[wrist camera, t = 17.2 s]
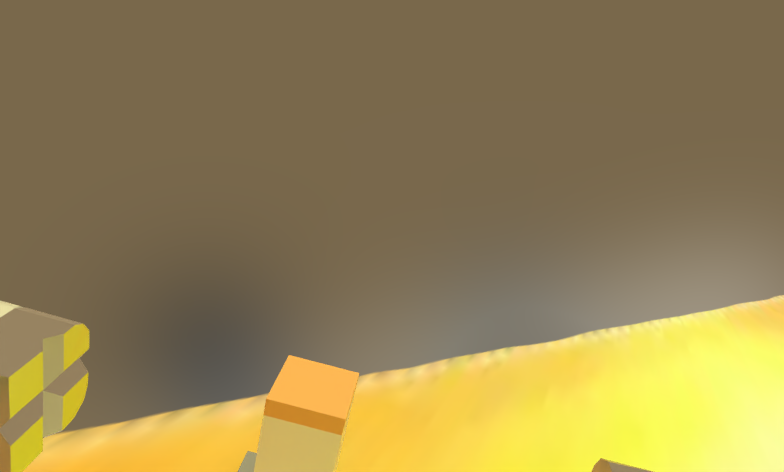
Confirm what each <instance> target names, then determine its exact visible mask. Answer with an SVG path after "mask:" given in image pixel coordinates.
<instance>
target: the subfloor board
mask: <svg viewBox="0 0 784 472" xmlns="http://www.w3.org/2000/svg"><path fill="white" fill-rule="evenodd" d="M256 456H257V453H253V452H250V451H248V452H247V454H246V456H245V458H244V460H243V462H242V464H241V466H240V468H239V470H238V472H254V468H255V462H256Z"/></svg>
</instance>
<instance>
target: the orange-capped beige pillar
mask: <svg viewBox="0 0 784 472" xmlns="http://www.w3.org/2000/svg"><path fill="white" fill-rule="evenodd" d="M358 377H359V373H356V372H352V371H349V370H345V369H341V368H337V367H333V366H329V365H326V364H321V363H318V362H314V361H310V360H306V359H302V358H298V357H294V356H291V355H289V356H288V358H287V360H286V362H285V364H284V366H283V368H282V370H281V371H280V374H279V376H278V377H277V379H276V381H275V383H274V385H273V387H272V389H271V391H270V393H269V395H268V396H267V398H266V404H265V409H264V415H263V421H262V427H261V433H260V439H259V444H258V450H257V456H256V462H255V468H254V472H336V469H337V465H338V461H339V457H340V453H341V448H342V444H343V440H344V436H345V431H346V427H347V423H348V419H349V415H350V410H351V406H352V402H353V398H354V394H355V389H356V385H357V381H358Z"/></svg>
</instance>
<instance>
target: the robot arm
mask: <svg viewBox="0 0 784 472" xmlns="http://www.w3.org/2000/svg"><path fill="white" fill-rule="evenodd" d="M88 349H89V330H88V329H87V327H86V326H85V325H84V324H82V323H79V322H75V321H71V320H68V319H64V318H61V317H57V316H54V315H50V314H47V313H43V312H40V311H36V310H32V309H29V308H25V307H21V306H17V305H14V304H10V303H6V302H3V301H0V472H22V471H23V470H24V469H25V468H26V467H27V466H28V465H29V464H30V463H31V462H32V461H33V460H34V459H35V458H36V457H37V456H38V455H39V454H40V453H41V452H42V451H43V438H44V437H47V436H49V435H52V434H54V433H57V432H60V431H62V430H63V429H64V428H65V427H66V426H67V425H68V424H69V423H70V422H71V420H72V419H73V418H74V417H75V415H76V413H77V411H78V410H79V408H80V406H81V404H82V402H83V400H84V397H85V393H86V389H87V386H88V371H87V369H86V368H85V366H84V365H83V363H82V361H81V360H80V358H79V357H80V356H81V355H83V354H84V353H85V352H86V351H87V350H88ZM592 472H653V471H649V470H645V469H641V468H637V467H633V466H629V465H625V464H621V463H618V462H614V461H610V460H606V459H602V458H601V459H600V460H599V461H598V462H597V463H596V464H595V465H594V468H593V470H592Z"/></svg>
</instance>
